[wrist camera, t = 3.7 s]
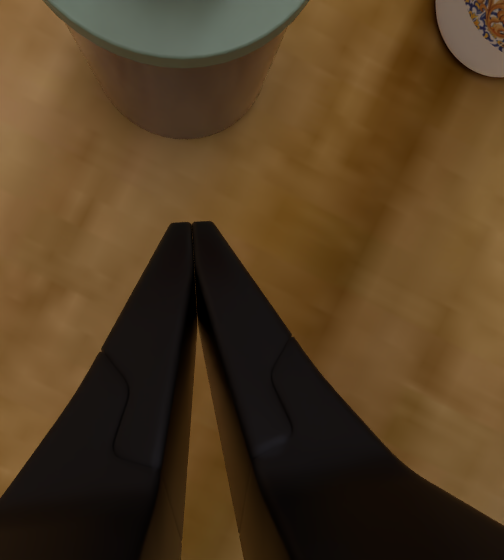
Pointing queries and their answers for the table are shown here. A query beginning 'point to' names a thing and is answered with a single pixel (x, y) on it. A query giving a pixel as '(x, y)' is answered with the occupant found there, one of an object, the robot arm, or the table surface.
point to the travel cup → (179, 57)
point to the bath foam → (474, 33)
